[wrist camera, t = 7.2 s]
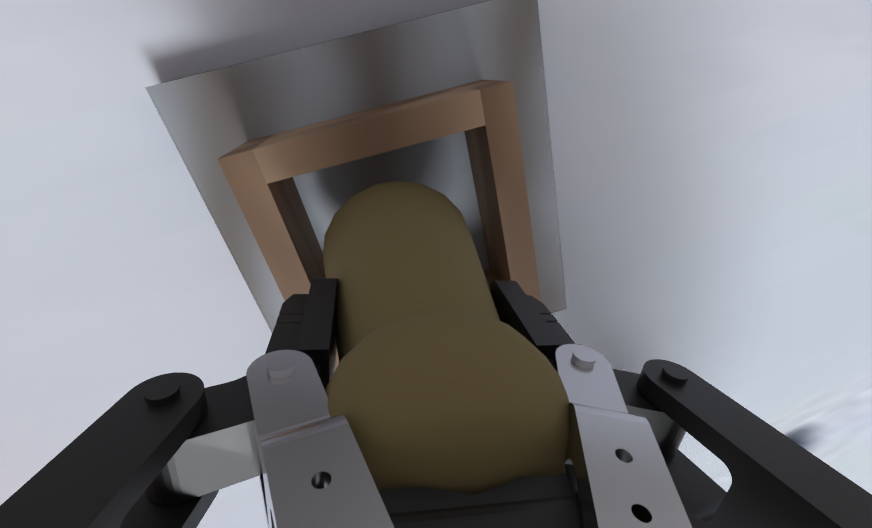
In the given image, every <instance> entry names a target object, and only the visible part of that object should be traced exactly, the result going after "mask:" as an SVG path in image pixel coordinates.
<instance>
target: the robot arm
mask: <svg viewBox="0 0 872 528" xmlns="http://www.w3.org/2000/svg"><path fill="white" fill-rule="evenodd" d="M337 285H338V278H312V282H311V286H310V290H309V294H293V295H292V296H290V297H289V298H288V299H287V300H286V301H285V302H283V303H282V306H281V309H280V312H279V316H278V318H277V321H276V325H275V327H274V330H273V333H272V336H271V339H270V342H269V345H268V348H267V350H266V353H265V354H264V355H262V356H260V357H259V358H257V359H256V360H255V361H254V362H252V363H251V365H250V366H249V368H248V369H247V373H246V374H247V375H246V376H244V377H242V378H240V379H237V380H235V381H231V382H228V383H224V384H220V385H216V386H211V387H207V388H204V384H203V382H202V380H201V379H200V378H199V377H197V376H195V375H193V374H189V373H169V374H164V375H159V376H156V377H153V378H151V379H148V380H146V381H144V382H142V383H140V384H139V385H137V386H135V387H134V388H133V389H131V390H130V391H129V392H128V393H127V394H125V395H124V396H123V397H122V398H121V399H120V400H119V401H118V402H116V403H115V404H114V405H113V406H112V407H111V408H110V409H109V410H107V411H106V412H105V413H104V414H103V415H102V416H101V417H100V418H98V419H97V420H96V421H95V422H94V423H93V424H92V425H91V426H89V427H88V428H87V429H86V430H85V431H84V432H83V433H82V434H81V435H79V436H78V437H77V438H76V439H75V440H74V441H73V442H72V443H70V444H69V445H68V446H67V447H66V448H65V449H64V450H63V451H61V452H60V453H59V454H58V455H57V456H56V457H55V458H54V459H52V460H51V461H50V462H49V463H48V464H47V465H46V466H45V467H43V468H42V469H41V470H40V471H39V472H38V473H37V474H36V475H34V476H33V477H32V478H31V479H30V480H29V481H28V482H27V483H25V484H24V485H23V486H22V487H21V488H20V489H19V490H18V491H16V492H15V493H14V494H13V495H12V496H11V497H10V498H9V499H7V500H6V501H5V502H4V503H3V504H2V505H1V506H0V528H196V527H197V526H198V524H199V523H200V521H201V519H202V518H203V516H204V515H205V513H206V511H207V510H208V508H209V507H210V505H211V503H212V502H213V500H214V499H215V497H216V495H217V493H218V491H219V489H222V488H225V487H228V486H230V485H233V484H236V483H239V482H242V481H245V480H247V479H250V478H253V477H256V476H259V479H260V485H261V491H262V497H263V502H264V508H265V514H266V520H267V526H268V528H872V495H871V494H870V493H868V492H867V491H865V490H864V489H862V488H861V487H860V486H858V485H857V484H855V483H854V482H852V481H851V480H849V479H848V478H846V477H845V476H843V475H842V474H841V473H839V472H838V471H836V470H835V469H833V468H832V467H830V466H829V465H827V464H826V463H824V462H823V461H822V460H820V459H819V458H817V457H816V456H814V455H813V454H811V453H810V452H808V451H807V450H806V449H804V448H803V447H801V446H800V445H798V444H797V443H795V442H794V441H792V440H791V439H789V438H788V437H787V436H785V435H784V434H782V433H781V432H779V431H778V430H776V429H775V428H773V427H772V426H770V425H769V424H768V423H766V422H765V421H763V420H762V419H760V418H759V417H757V416H756V415H754V414H753V413H751V412H750V411H749V410H747V409H746V408H744V407H743V406H741V405H740V404H738V403H737V402H735V401H734V400H732V399H731V398H730V397H728V396H727V395H725V394H724V393H722V392H721V391H719V390H718V389H716V388H715V387H714V386H712V385H711V384H709V383H708V382H706V381H705V380H703V379H702V378H700V377H699V376H697V375H696V374H695V373H693V372H692V371H690V370H688V369H687V368H685V367H683V366H681V365H679V364H676V363H673V362H670V361H666V360H659V359H655V360H649V361H647V362H646V363H645V364H644V366H643V369H642V371H641V374H636V373H631V372H626V371H620V370H615V369H612V366H611V364H610V362H609V361H608V359H607V358H606V357H605V356H603V355H602V354H601V353H599V352H598V351H596V350H594V349H592V348H589V347H587V346H583V345H579V344H575V343H574V342H573V340H572V339H571V338H570V337H569V335H568V334H567V333H566V331H565V330H564V329H563V328H562V326H561V325H560V324H559V323H557V320H556V319H555V318H554V316H553V315H551V312H550V311H549V310H548V309H547V307H546V306H545V305H544V304H543V303H542V302H540V301H539V300H537V299H536V298H534V297H533V296H531V295H526V294H525V292H524V291H523V290H522V288H521V287H520V286H519V284H518V283H517V282H516V281H507V280H493V281H492V282H491V283H490V286H489V289H490V292H491V295H492V298H493V301H494V304H495V307H496V310H497V313H498V316H499V319H500V321H501V322H504V323H506V324H508V325H510V326H511V327H512V328H514V329H515V330H516V331H518V332H519V333H520V334H522V335H523V336H524V337H525V338H526V339H527V340H528V341H529V342H531V343H532V344H533V345H534V346H535V347H536V348H537V349H538V350H539V351H540V352H541V353H542V354H544V355H545V356H546V357H547V359H548V360H549V362H550V363H551V364H552V366H553V367H554V369H555V370H556V372H557V373H558V374H559V376H560V378H561V380H562V383H563V385H564V388H565V390H566V392H567V396H568V399H569V402H570V403H569V440H568V446H567V452H566V459H565V466H566V474H558V475H547V476H536V477H524V478H519V479H516V480H514V481H511V482H508V483H506V484H503V485H500V486H498V487H495V488H493V489H490V490H487V491H485V492H482V493H479V494H465V493H459V492H452V491H446V490H440V489H433V488H427V487H410V488H399V489H387V490H378V489H377V487H376V485H375V482H374V480H373V478H372V476H371V473H370V471H369V469H368V466H367V464H366V462H365V460H364V457H363V455H362V453H361V451H360V448H359V446H358V444H357V441H356V439H355V437H354V435H353V432H352V430H351V428H350V425H349V423H348V421H347V419H346V417H345V416H344V415H343V414H339V415H336V416H333V417H331V416H330V414H329V410H328V407H327V406H328V397H327V394H326V392H325V389H326V387H327V385H328V383H329V381H330V379H331V378H332V376H333V374H334V372H335V363H336V352H337V346H336V339H335V329H336V300H337ZM686 431H687V432H688V433H689V434H690V435H691V436H693V437H694V438H695V439H696V440H698V441H699V442H700V443H701V444H702V445H704V446H705V447H706V448H707V449H708V450H710V451H711V452H712V453H713V454H714V455H716V456H717V457H718V458H719V459H720V460H722V461H723V462H724V463H725V465H726V466H727V467H728V469H729V471H730V473H731V476H732V485H731V487H730V489H729V490H728V492H726V491H724V490H723V489H722V488H721V487H720V486H719V485H718V484H717V483H715V482H714V481H713V480H712V479H711V478H710V477H709V476H707V475H706V474H705V473H704V472H703V471H702V470H701V469H700V468H698V467H697V466H696V465H695V464H694V463H693V462H692V461H690V460H689V459H688V458H687V457H686V456H685V455H684V454H683V453H681V452H680V451H679V450H678V447H679V445H680V443H681V441H682V439H683V437H684V435H685V433H686Z"/></svg>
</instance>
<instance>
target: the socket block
mask: <svg viewBox="0 0 872 528" xmlns="http://www.w3.org/2000/svg"><path fill="white" fill-rule="evenodd" d="M146 89H147V91H148V93H149V95H150V97H151V99H152V101H153V103H154V105H155V107H156V109H157V111H158V113H159V115H160V117H161V118H162V120H163V122H164V124H165V126H166V128H167V130H168V132H169V134H170V136H171V138H172V140H173V142H174V144H175V146H176V148H177V150H178V151H179V153H180V155H181V157H182V159H183V161H184V163H185V165H186V167H187V169H188V171H189V173H190V175H191V177H192V179H193V181H194V183H195V184H196V186H197V188H198V190H199V192H200V194H201V196H202V198H203V200H204V202H205V204H206V206H207V208H208V210H209V212H210V214H211V216H212V217H213V219H214V221H215V223H216V225H217V227H218V229H219V231H220V233H221V235H222V237H223V239H224V241H225V243H226V245H227V247H228V249H229V250H230V252H231V254H232V256H233V258H234V260H235V262H236V264H237V266H238V268H239V270H240V272H241V274H242V276H243V278H244V280H245V281H246V283H247V285H248V287H249V289H250V291H251V293H252V295H253V297H254V299H255V301H256V303H257V305H258V307H259V309H260V311H261V313H262V314H263V316H264V318H265V320H266V322H267V324H268V326H269V328H270V330H271V332H272V333H273V330H274V327H275V325H276V321H277V318H278V316H279V312H280V309H281V306H282V303H283V302H285V301H286V300H287V299H288V298H289V297H290V296H292V295H293V294H309V290H310V286H311V282H312V278H326V276H325V269H324V263H323V248H324V236H325V233H326V231H327V229H328V227H329V225H330V222H331V220H332V218H333V216H334V214H335V213H336V212H337V211H338V210H339V209H340V208H341V207H342V206H343V205H344V204H345V203H346V202H347V201H348V200H349V198H350V197H351V196H353V195H355V194H357V193H359V192H361V191H363V190H365V189H367V188H369V187H371V186H373V185H375V184H381V183H387V182H393V181H406V182H412V183H419V184H424V185H426V186H428V187H430V188H432V189H434V190H436V191H438V192H440V193H442V194H444V195H445V196H446V197H447V198H448V199H449V200H450V201H451V202H452V203H453V204H454V205H455V206H456V207H457V208H458V209H459V210H460V211H461V213H462V215H463V217H464V220H465V222H466V224H467V226H468V228H469V231H470V234H471V236H472V239H473V242H474V245H475V248H476V251H477V254H478V257H479V260H480V263H481V266H482V269H483V272H484V275H485V278H486V280H487V283H488V286H490V283H491V282H492V281H493V280H507V281H516V282H517V283H518V284H519V286H520V287H521V288H522V290H523V291H524V292H525V294H526V295H531V296H533V297H534V298H536V299H537V300H539V301H540V302H542V303H543V304H544V305H545V306H546V307H547V309H548V310H549V311H550V312H551V313H553V312H557V311H560V310H563V309H566V300H565V289H564V279H563V268H562V257H561V247H560V236H559V226H558V215H557V204H556V194H555V183H554V173H553V162H552V152H551V141H550V130H549V120H548V109H547V99H546V88H545V77H544V67H543V56H542V46H541V35H540V24H539V14H538V3H537V0H490V1H486V2H482V3H478V4H474V5H470V6H466V7H462V8H458V9H454V10H450V11H446V12H442V13H438V14H434V15H430V16H427V17H423V18H419V19H415V20H411V21H407V22H403V23H399V24H395V25H391V26H387V27H383V28H379V29H375V30H371V31H367V32H363V33H359V34H355V35H351V36H347V37H343V38H339V39H335V40H331V41H328V42H324V43H320V44H316V45H312V46H308V47H304V48H300V49H296V50H292V51H288V52H284V53H280V54H276V55H272V56H268V57H264V58H260V59H256V60H252V61H248V62H244V63H240V64H236V65H232V66H229V67H225V68H221V69H217V70H213V71H209V72H205V73H201V74H197V75H193V76H189V77H185V78H181V79H177V80H173V81H169V82H165V83H161V84H157V85H153V86H149V87H146ZM338 365H339V358H338V352H336V363H335V370H336V368H337V366H338Z"/></svg>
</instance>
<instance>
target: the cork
mask: <svg viewBox="0 0 872 528" xmlns="http://www.w3.org/2000/svg"><path fill="white" fill-rule="evenodd" d="M323 263H324V269H325V276H326V278H338V285H337V300H336V329H335V339H336V346H337V352H338V358H339V365H338V366H337V368H336V370H335V372H334V374H333V376H332V378H331V379H330V381H329V383H328V385H327V387H326V389H325V392H326V394H327V397H328V406H327V407H328V410H329V414H330V416H331V417H333V416H336V415H339V414H343V415H344V416H345V417H346V419H347V421H348V423H349V425H350V428H351V430H352V432H353V435H354V437H355V439H356V441H357V444H358V446H359V448H360V451H361V453H362V455H363V457H364V460H365V462H366V464H367V466H368V469H369V471H370V473H371V476H372V478H373V480H374V482H375V485H376V487H377V489H378V490H387V489H399V488H410V487H427V488H433V489H440V490H446V491H452V492H459V493H465V494H479V493H482V492H485V491H487V490H490V489H493V488H495V487H498V486H500V485H503V484H506V483H508V482H511V481H514V480H516V479H519V478H524V477H536V476H547V475H558V474H566V466H565V459H566V452H567V446H568V440H569V403H570V402H569V399H568V396H567V392H566V390H565V388H564V385H563V383H562V380H561V378H560V376H559V374H558V373H557V372H556V370H555V369H554V367H553V366H552V364H551V363H550V362H549V360H548V359H547V357H546V356H545V355H544V354H542V353H541V352H540V351H539V350H538V349H537V348H536V347H535V346H534V345H533V344H532V343H531V342H529V341H528V340H527V339H526V338H525V337H524V336H523V335H522V334H520V333H519V332H518V331H516V330H515V329H514V328H512V327H511V326H510V325H508V324H506V323H504V322H501V321H500V319H499V316H498V313H497V310H496V307H495V304H494V301H493V298H492V295H491V292H490V289H489V286H488V283H487V280H486V278H485V275H484V272H483V269H482V266H481V263H480V260H479V257H478V254H477V251H476V248H475V245H474V242H473V239H472V236H471V234H470V231H469V228H468V226H467V224H466V222H465V220H464V217H463V215H462V213H461V211H460V210H459V209H458V208H457V207H456V206H455V205H454V204H453V203H452V202H451V201H450V200H449V199H448V198H447V197H446V196H445V195H444V194H442V193H440V192H438V191H436V190H434V189H432V188H430V187H428V186H426V185H424V184H419V183H412V182H406V181H393V182H387V183H381V184H375V185H373V186H371V187H369V188H367V189H365V190H363V191H361V192H359V193H357V194H355V195H353V196H351V197H350V198H349V200H348V201H347V202H346V203H345V204H344V205H343V206H342V207H341V208H340V209H339V210H338V211H337V212H336V213H335V214H334V216H333V218H332V220H331V222H330V225H329V227H328V229H327V231H326V233H325V236H324V248H323Z"/></svg>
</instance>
